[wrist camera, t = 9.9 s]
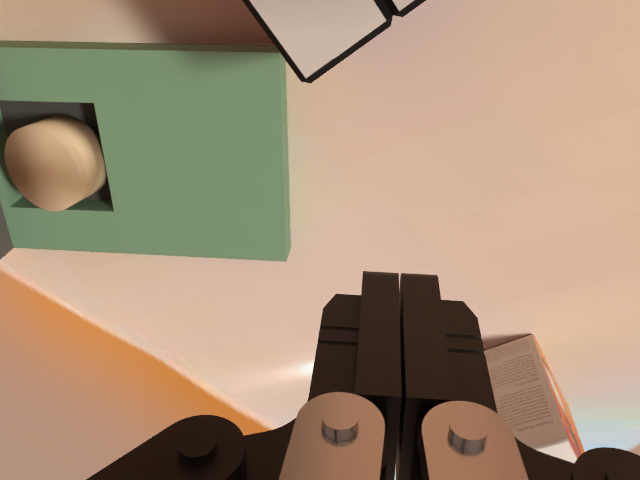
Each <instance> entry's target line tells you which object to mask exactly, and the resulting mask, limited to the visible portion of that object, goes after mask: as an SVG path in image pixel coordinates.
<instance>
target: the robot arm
mask: <svg viewBox="0 0 640 480" xmlns="http://www.w3.org/2000/svg"><path fill="white" fill-rule="evenodd" d="M395 465H396V480H640V456H639V455H636V454H634V453H631V452H628V451H625V450H621V449H616V448H604V447H603V448H595V449H591V450H588V451H586V452H584V453H583V454H581V455H580V456H579V457H578V458H577V460H576V461H575V463H572V462H569V461H566V460H563V459H560V458H557V457H554V456H551V455H548V454H545V453H542V452H540V451H537V450H535V449H533V448H531V447H529V446H527V445H526V444H524V443H522V442H521V441H519V440H518V439H517V438H516V437H514V434H513V432H512V430H511V428H510V426H509V425H508V423H507V422H506V421H505V420H504V419H503V418H502V417H501V416H500V415H498V412H497V408H496V403H495V399H494V394H493V389H492V385H491V380H490V375H489V371H488V366H487V361H486V357H485V355H484V347H483V343H482V339H481V333H480V329H479V324H478V319H477V317H476V316H475V315H474V313H473V312H472V311H471V310H470V309H469V308H468V306H467V305H466V304H465V303H464V302H463V301H450V300H441V297H440V289H439V282H438V276H437V275H424V274H406V273H401V278H400V289H399V275H398V273H386V272H368V271H363V280H362V294H361V295H345V294H336V295H335V296H334V297H333V298H332V299H331V300H330V301H329V302H328V304H327V305H326V306H325V307H324V308H323V313H322V319H321V325H320V331H319V338H318V344H317V350H316V356H315V362H314V368H313V374H312V380H311V386H310V393H309V398H308V402H307V403H306V404H305V405H304V406H303V407H302V408H301V409H300V411H299V412H298V415H297V417H296V418H295V419H294V420H292V421H291V422H290V423H288V424H286V425H284V426H282V427H280V428H277V429H274V430H270V431H266V432H261V433H256V434H250V435H245V436H243V434H242V432H241V430H240V429H239V428H238V427H237V426H236V425H235V424H234V423H232V422H231V421H229V420H227V419H225V418H222V417H219V416H213V415H199V416H192V417H189V418H185V419H183V420H180V421H178V422H176V423H174V424H173V425H171V426H169V427H168V428H166V429H164V430H163V431H161V432H160V433H158V434H157V435H155V436H153V437H152V438H150V439H149V440H147V441H146V442H144V443H143V444H141V445H139V446H138V447H136V448H135V449H133V450H132V451H130V452H129V453H127V454H125V455H124V456H122V457H121V458H119V459H118V460H116V461H115V462H113V463H111V464H110V465H108V466H107V467H105V468H104V469H102V470H100V471H99V472H97V473H96V474H94V475H93V476H91V477H90V478H88V479H86V480H394V475H395Z"/></svg>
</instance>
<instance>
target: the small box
mask: <svg viewBox="0 0 640 480" xmlns="http://www.w3.org/2000/svg"><path fill="white" fill-rule="evenodd" d="M484 355H485V357H486V361H487V366H488V371H489V375H490V380H491V385H492V389H493V394H494V399H495V403H496V408H497V412H498V415H500V416H501V417H502V418H503V419H504V420H505V421H506V422H507V423H508V425H509V426H510V428H511V430H512V432H513V434H514V437H516V438H517V439H518V440H519V441H521V442H522V443H524V444H526V445H527V446H529V447H531V448H533V449H535V450H537V451H540V452H542V453H545V454H548V455H551V456H554V457H557V458H560V459H563V460H566V461H569V462H572V463H575V461H576V460H577V458H578V457H579V456H580V455H581V454H583V453H584V449H583V446H582V443H581V441H580V438H579V435H578V432H577V429H576V426H575V424H574V421H573V418H572V415H571V412H570V410H569V407H568V404H567V403H566V401H565V399H564V397H563V395H562V393H561V391H560V389H559V387H558V385H557V383H556V381H555V379H554V377H553V375H552V372H551V370H550V368H549V366H548V364H547V362H546V360H545V357H544V355H543V353H542V351H541V349H540V347H539V345H538V343H537V340H536V338H535V336H534V335H532V334H531V335H528V336H526V337H523V338H520V339H517V340H514V341H511V342H508V343H505V344H502V345H499V346H496V347H493V348H490V349H487V350H484Z"/></svg>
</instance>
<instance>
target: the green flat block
mask: <svg viewBox="0 0 640 480" xmlns="http://www.w3.org/2000/svg"><path fill="white" fill-rule="evenodd" d="M59 114H65V115H70V116H73V117H76V118H78V119H80V120H81V121H83V122H84V123H86V124H87V125H88V126H89V127H90V128H92V130H93V131H94V132H95V133H96V134H97V136H98V137H99V138H100V140H101V144H102V149H103V155H104V160H105V166H106V171H107V176H108V177H107V180H106V182H105V184H104V186H103V187H102V188H101V189H100V190H98V191H97V192H95V193H93V194H91V195H90V196H88V197H86V198H84V199H83V200H81V201H79V202H77V203H76V204H74V205H72V206H70V207H68V208H67V209H65V210H61V211H49V210H45V209H42V208H40V207H38V206H36V205H34V204H33V203H31V202H30V201H29V200H28V199H26V198H25V197H24V196H23V195H22V194H21V193H20V191H19V190H18V189H17V188H16V186H15V185H14V183H13V181H12V180H11V178H10V175H9V173H8V170H7V167H6V163H5V157H4V151H5V145H6V141H7V139H8V137H9V136H10V134H11V133H13V132H14V131H15V130H17V129H19V128H22V127H24V126H27V125H30V124H33V123H35V122H38V121H41V120H43V119H46V118H49V117H52V116H54V115H59ZM13 248H31V249H50V250H70V251H90V252H110V253H129V254H149V255H169V256H189V257H208V258H228V259H248V260H267V261H287V258H288V254H289V251H290V248H291V243H290V209H289V174H288V139H287V104H286V69H285V58H284V57H283V56H282V54H281V53H280V52H279V50H278V49H277V47H276V46H260V45H206V44H152V43H98V42H44V41H0V259H1V258H3V257H4V256H5V255H6V254H7V253H8V252H9V251H10V250H11V249H13Z"/></svg>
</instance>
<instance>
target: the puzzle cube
mask: <svg viewBox="0 0 640 480" xmlns="http://www.w3.org/2000/svg"><path fill="white" fill-rule="evenodd" d="M242 1H243V2H244V3H245V5H246V6H247V8H248V9H249V10H250V12H251V13H252V14H253V16H254V17H255V19H256V20H257V21H258V23H259V24H260V25H261V27H262V28H263V30H264V31H265V32H266V34H267V35H268V36H269V38H270V39H271V41H272V42H273V43H274V45H275V46H276V47H277V49H278V50H279V52H280V53H281V54H282V56H283V57H284V58H285V60H286V61H287V63H288V64H289V65H290V67H291V68H292V69H293V71H294V72H295V74H296V75H297V76H298V78H299V79H300V80H301V81H302V82H307V83H312V82H313V81H314V80H316V79H317V78H319V77H320V76H321V75H323V74H324V73H326V72H327V71H328V70H330V69H331V68H333V67H334V66H335V65H337V64H338V63H339V62H341V61H342V60H344V59H345V58H346V57H348V56H349V55H351V54H352V53H353V52H355V51H356V50H358V49H359V48H360V47H362V46H363V45H365V44H366V43H367V42H369V41H370V40H371V39H373V38H374V37H376V36H377V35H378V34H380V33H381V32H383V31H384V30H385V29H387V28H388V27H390V26H391V21H392V16H393V15H395V16H401V17H403V16H405V15H406V14H408V13H409V12H410V11H412V10H413V9H415V8H416V7H417V6H419V5H420V4H422V3H423V2H424V1H426V0H242Z"/></svg>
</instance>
